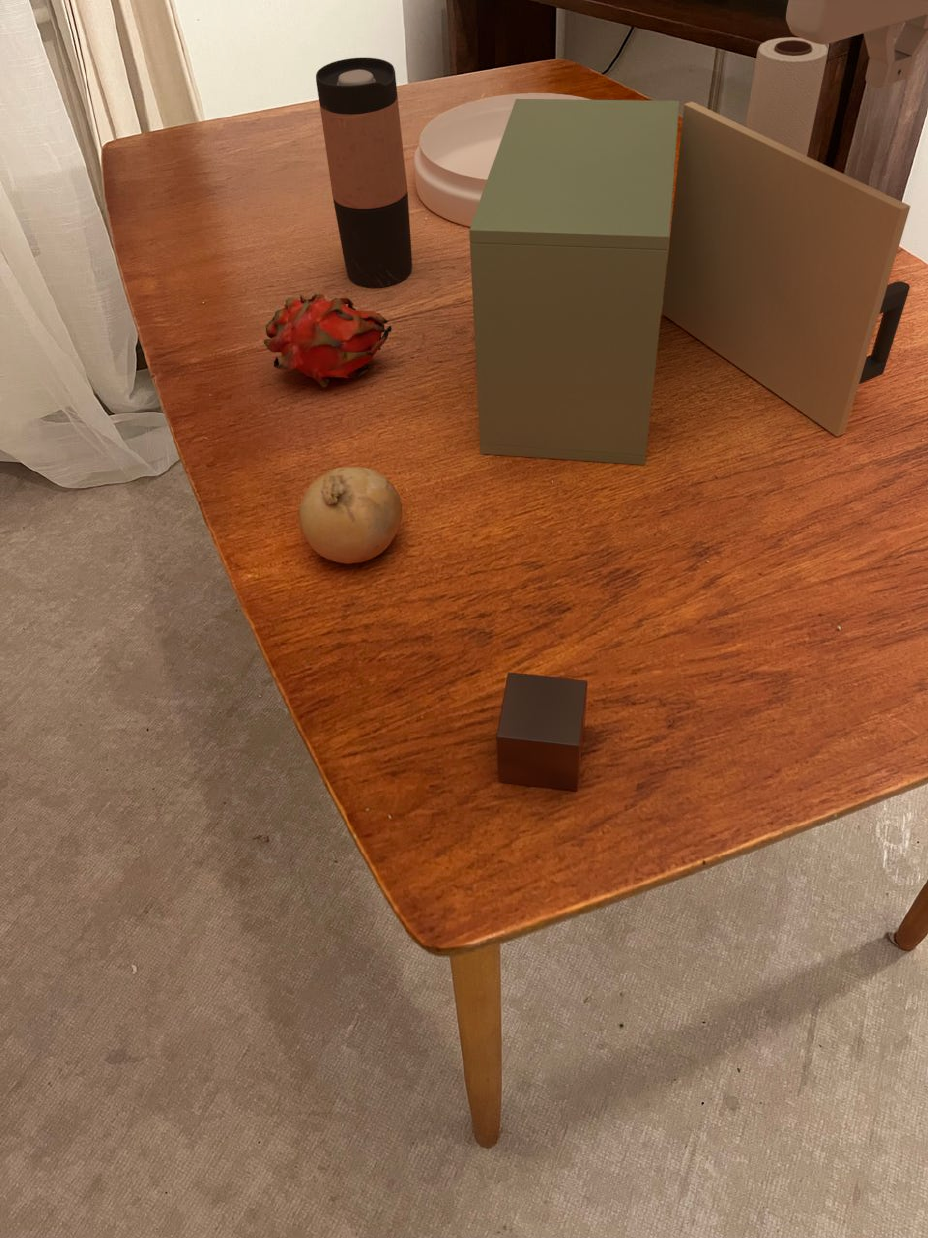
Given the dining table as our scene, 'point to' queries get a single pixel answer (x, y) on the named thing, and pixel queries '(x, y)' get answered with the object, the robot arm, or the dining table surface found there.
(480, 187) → the plate
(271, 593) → the dining table surface
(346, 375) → the dragon fruit
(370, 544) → the onion
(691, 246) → the cupboard door
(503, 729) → the block
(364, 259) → the travel mug
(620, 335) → the cupboard
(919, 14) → the robot arm
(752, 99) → the paper towel roll
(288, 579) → the dining table surface
